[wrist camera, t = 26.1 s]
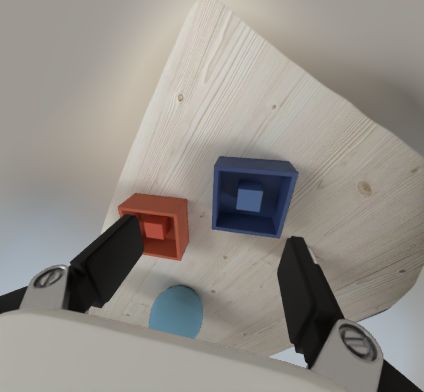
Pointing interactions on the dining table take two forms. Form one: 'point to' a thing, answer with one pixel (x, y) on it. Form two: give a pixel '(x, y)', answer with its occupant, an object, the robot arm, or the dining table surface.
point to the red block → (157, 226)
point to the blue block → (249, 196)
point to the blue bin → (271, 199)
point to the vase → (177, 312)
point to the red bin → (163, 206)
